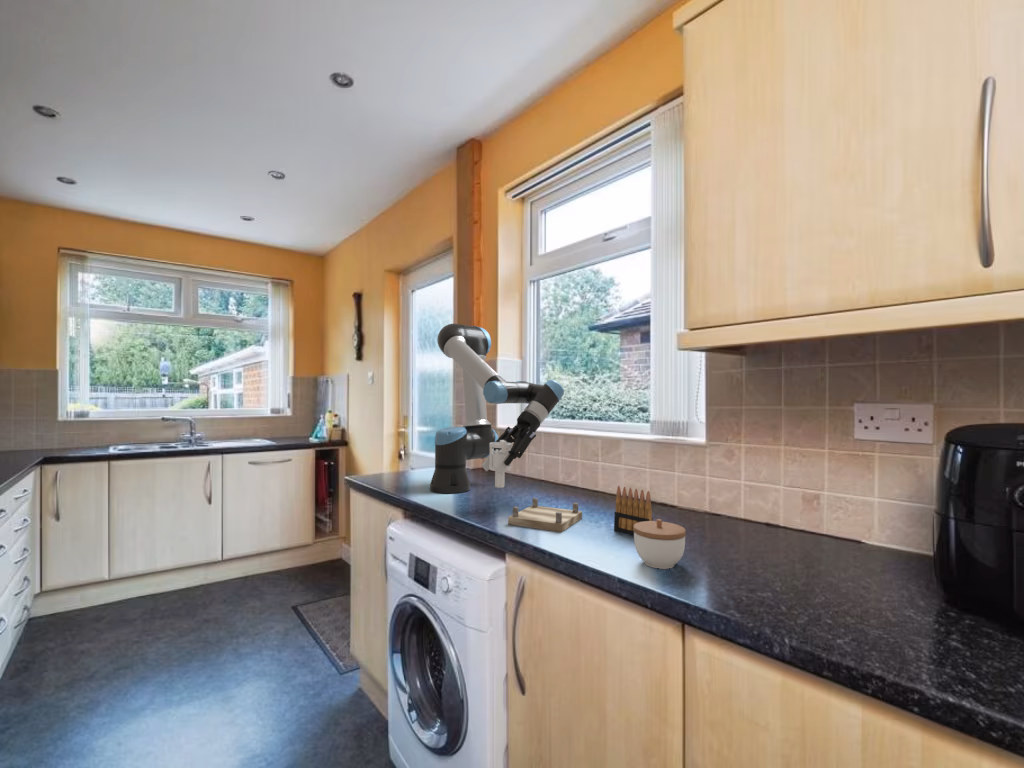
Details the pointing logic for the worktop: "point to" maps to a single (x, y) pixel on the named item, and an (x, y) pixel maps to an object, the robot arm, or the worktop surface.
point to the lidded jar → (659, 543)
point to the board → (545, 517)
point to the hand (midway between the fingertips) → (490, 470)
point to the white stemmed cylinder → (497, 457)
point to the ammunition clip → (631, 510)
